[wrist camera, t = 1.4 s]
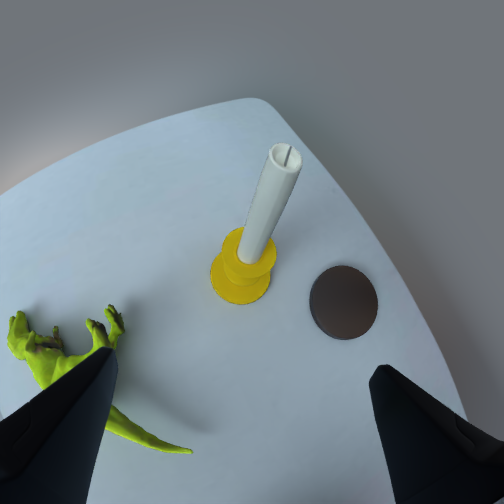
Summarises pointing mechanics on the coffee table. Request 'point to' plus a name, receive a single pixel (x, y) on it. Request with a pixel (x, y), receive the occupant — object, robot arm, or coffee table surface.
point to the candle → (257, 231)
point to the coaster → (343, 302)
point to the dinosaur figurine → (57, 364)
